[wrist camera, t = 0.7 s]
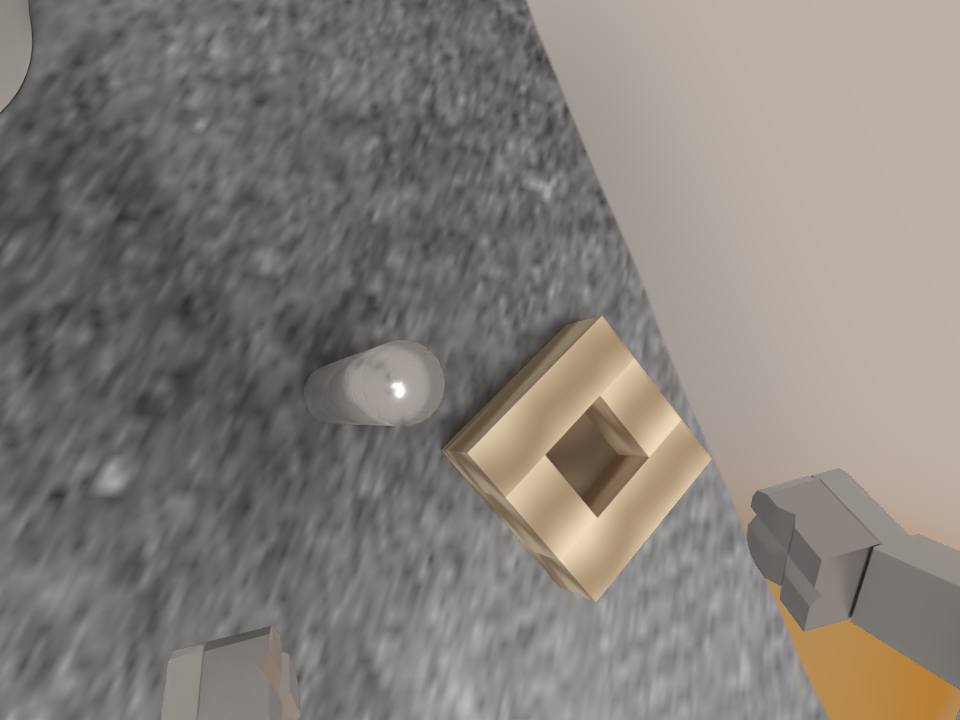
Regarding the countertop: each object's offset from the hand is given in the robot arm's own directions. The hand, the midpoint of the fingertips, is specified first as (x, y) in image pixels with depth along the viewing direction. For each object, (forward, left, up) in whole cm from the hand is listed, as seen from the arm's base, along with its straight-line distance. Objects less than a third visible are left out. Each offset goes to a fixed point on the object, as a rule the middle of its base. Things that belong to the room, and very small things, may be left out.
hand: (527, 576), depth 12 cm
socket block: (+15, +16, -37) cm, 43 cm away
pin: (0, +6, -37) cm, 37 cm away
